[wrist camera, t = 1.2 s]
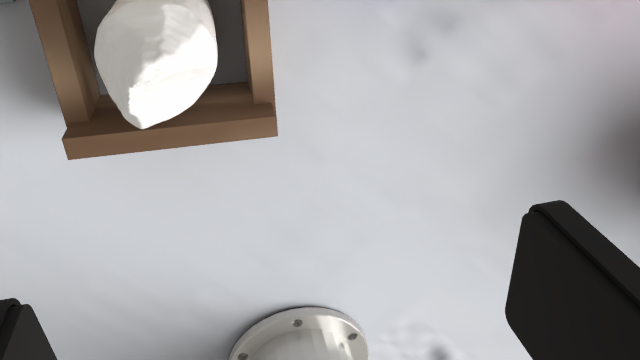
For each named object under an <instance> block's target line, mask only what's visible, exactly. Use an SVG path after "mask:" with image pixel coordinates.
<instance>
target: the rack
mask: <svg viewBox="0 0 640 360" xmlns="http://www.w3.org/2000/svg"><path fill="white" fill-rule="evenodd" d="M29 3H30V6H31V9H32V13H33V16H34V19H35V23H36V26H37V29H38V33H39V36H40V39H41V43H42V46H43V49H44V53H45V56H46V59H47V63H48V66H49V70H50V73H51V76H52V80H53V83H54V86H55V90H56V93H57V96H58V100H59V103H60V106H61V110H62V113H63V116H64V120H65V123H66V126H67V130H66V132H65V134H64V136H63V138H62V142H63V145H64V148H65V151H66V155H67V158H68V160H72V159H81V158H90V157H98V156H107V155H116V154H125V153H134V152H143V151H152V150H160V149H169V148H178V147H187V146H196V145H205V144H213V143H222V142H231V141H240V140H249V139H258V138H266V137H275V136H278V131H277V117H276V107H275V94H274V80H273V66H272V53H271V39H270V25H269V12H268V0H240V5H241V15H242V25H243V35H244V45H245V55H246V65H247V76H248V82H238V83H228V84H217V85H208V86H207V88H206V89H205V90H204V92H203V93H202V94H201V96H200V97H199V98H198V99H197V101H196V102H195V103H194V104H193V105H192V106H190V107H189V108H187V109H186V110H185V111H183V112H182V113H180V114H179V115H176V116H175V117H173V118H171V119H169V120H166V121H162V122H160V123H157V124H154V125H152V126H150V127H148V128H145V129H140V128H138V127H136V126H134V125H133V124H131V123H130V122H128V121H127V120H126V119H125V118H124V117H123V115H122V113H121V111H120V110H119V109H118V107H117V105H116V103H115V102H114V101H113V100H112V98H111V97H110V95H101V96H100V92H99V88H98V84H97V80H96V76H95V73H94V69H93V65H92V61H91V57H90V53H89V49H88V45H87V41H86V37H85V33H84V29H83V25H82V22H81V18H80V14H79V10H78V6H77V2H76V0H29Z"/></svg>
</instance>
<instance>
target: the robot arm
mask: <svg viewBox="0 0 640 360" xmlns="http://www.w3.org/2000/svg"><path fill="white" fill-rule="evenodd" d="M505 314H506V318H507V321H508V324H509V325H510V327H511V329H512V330H513V332H514V333H515V334H516V336H517V337H518V339H519V340H520V342H521V343H522V344H523V346H524V347H525V349H526V350H527V352H528V353H529V355H530V356H531V357H532V359H533V360H640V267H638V266H637V265H636V264H635V263H634V262H633V261H632V260H631V259H629V258H628V257H627V256H626V255H625V254H624V253H623V252H622V251H620V250H619V249H618V248H617V247H616V246H615V245H614V244H613V243H611V242H610V241H609V240H608V239H607V238H606V237H605V236H604V235H602V234H601V233H600V232H599V231H598V230H597V229H596V228H595V227H593V226H592V225H591V224H590V223H589V222H588V221H587V220H586V219H584V218H583V217H582V216H581V215H580V214H579V213H578V212H577V211H576V210H574V209H573V208H572V207H571V206H570V205H569V204H568V203H566V202H564V201H561V200H558V201H552V202H547V203H541V204H536V205H533V206H532V207H531V208H530V209H529V212H528V213H527V214H525V215H524V216H523V218H522V222H521V227H520V233H519V238H518V243H517V248H516V254H515V259H514V264H513V270H512V275H511V280H510V286H509V291H508V296H507V301H506V307H505ZM368 355H369V354H368V345H367V342H366V339H365V336H364V334H363V332H362V330H361V329H360V327H359V326H358V325H357V324H356V323H355V322H354V321H353V320H352V319H351V318H349V317H348V316H346V315H344V314H342V313H340V312H337V311H334V310H331V309H325V308H316V307H305V308H297V309H291V310H287V311H284V312H280V313H277V314H275V315H272V316H270V317H268V318H265V319H264V320H262V321H260V322H259V323H257V324H255V325H254V326H252V327H251V328H250V329H249V330H248V331H247V332H245V333H244V334H243V335H242V336H241V338H240V339H239V340H238V341H237V343H236V344H235V345H234V347H233V349H232V351H231V353H230V356H229V360H368ZM0 360H57V358H56V356H55V354H54V352H53V350H52V348H51V346H50V344H49V342H48V340H47V337H46V335H45V333H44V331H43V329H42V327H41V325H40V323H39V321H38V319H37V317H36V315H35V313H34V311H33V309H32V307H31V306H30V305H29V304H24V305H21V304H20V302H19V301H18V300H17V299H15V298H10V299H5V300H0Z"/></svg>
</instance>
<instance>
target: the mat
mask: <svg viewBox="0 0 640 360" xmlns="http://www.w3.org/2000/svg"><path fill="white" fill-rule="evenodd" d="M15 1H16V0H0V3H10V2H15Z"/></svg>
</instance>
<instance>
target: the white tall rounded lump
mask: <svg viewBox="0 0 640 360" xmlns="http://www.w3.org/2000/svg"><path fill="white" fill-rule="evenodd" d="M94 57H95V61H96V66H97V68H98V71H99V74H100V76H101V78H102V80H103V82H104V84H105V86H106V88H107V90H108V93H109V95H110V97H111V98H112V100H113V101H114V102H115V103H116V105H117V107H118V109H119V110H120V111H121V113H122V115H123V117H124V118H125V119H126V120H127V121H128V122H130V123H131V124H133V125H134V126H136V127H138V128H140V129H145V128H148V127H150V126H152V125H154V124H157V123H160V122H162V121H166V120H169V119H171V118H173V117H175V116H176V115H179V114H180V113H182V112H183V111H185V110H186V109H187V108H189V107H190V106H192V105H193V104H194V103H195V102H196V101H197V99H198V98H199V97H200V96H201V94H202V93H203V92H204V90H205V89H206V88H207V86H208V84H209V83H210V82H211V79H212V77H213V76H214V73H215V71H216V67H217V59H218V52H217V42H216V33H215V25H214V18H213V13H212V10H211V7H210V4H209V2H208V0H117V1H116V2H115V3H114V5H113V6H112V8H111V9H110V11H109V12H108V13H107V15H106V16H105V17H104V18H103V20H102V22H101V24H100V25H99V27H98V29H97V35H96V40H95V48H94Z"/></svg>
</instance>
